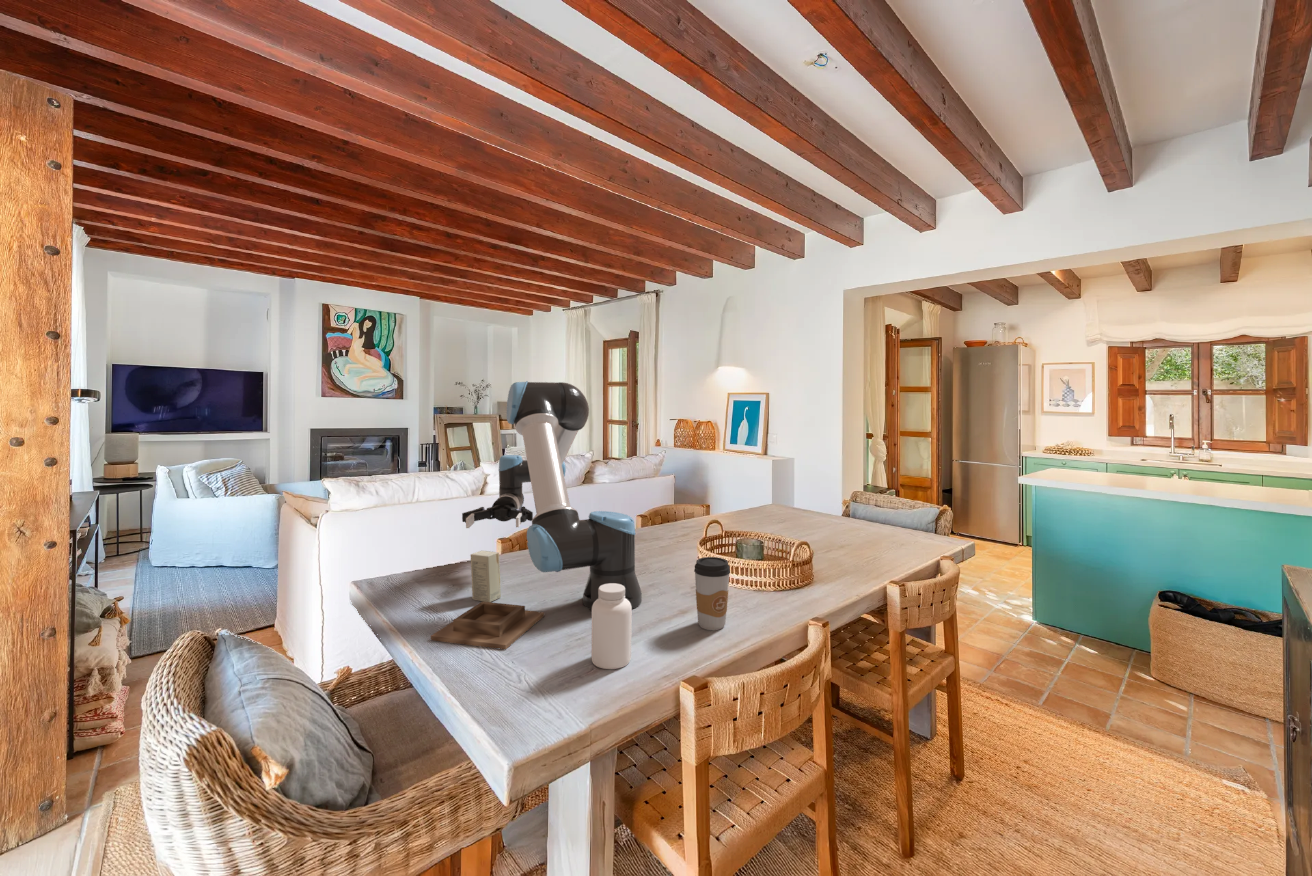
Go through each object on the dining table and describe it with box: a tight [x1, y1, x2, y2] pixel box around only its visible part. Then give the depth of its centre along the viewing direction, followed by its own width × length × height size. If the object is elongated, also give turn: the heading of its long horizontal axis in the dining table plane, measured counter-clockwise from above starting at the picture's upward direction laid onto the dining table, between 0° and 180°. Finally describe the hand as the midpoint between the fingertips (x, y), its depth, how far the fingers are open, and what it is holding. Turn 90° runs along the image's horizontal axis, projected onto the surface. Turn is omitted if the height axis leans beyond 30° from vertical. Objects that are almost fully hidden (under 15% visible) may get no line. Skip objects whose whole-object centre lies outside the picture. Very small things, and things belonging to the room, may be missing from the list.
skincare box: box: [470, 550, 502, 603], centre depth 139 cm, size 6×4×12 cm
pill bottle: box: [590, 583, 633, 670], centre depth 106 cm, size 8×8×15 cm
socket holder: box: [430, 601, 545, 650], centre depth 122 cm, size 18×18×4 cm
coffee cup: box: [693, 556, 731, 631], centre depth 123 cm, size 8×8×15 cm
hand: (492, 523), depth 148 cm, fingers open, 13 cm apart
